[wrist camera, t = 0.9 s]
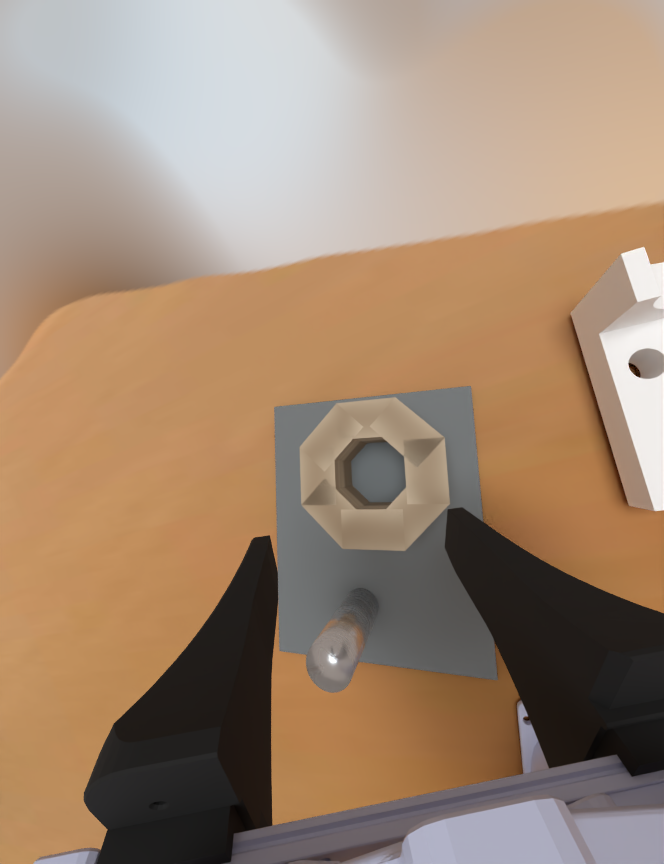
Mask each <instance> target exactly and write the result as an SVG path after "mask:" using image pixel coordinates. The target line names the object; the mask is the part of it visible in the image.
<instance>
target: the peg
mask: <svg viewBox="0 0 664 864" xmlns="http://www.w3.org/2000/svg"><path fill="white" fill-rule="evenodd" d="M378 612H379V604H378V601H377V599H376V597H375V595H374V594H373V593H372V592H370V591H369V590H367V589H364V588H356V589H353V590H352V591H350V592H349V594H348V595H347V596H346V598H345V599H344V601H343V602H342V603H341V605H340V606H339V608H338V609H337V611H336V612H335V613H334V615H333V616H332V618H331V619H330V620H329V622H328V623H327V625H326V626H325V627H324V629H323V630H322V632H321V633H320V634H319V636H318V637H317V639H316V640H315V641H314V643H313V644H312V646H311V647H310V649H309V650H308V653H307V657H306V666H307V671H308V674H309V676H310V678H311V679H312V681H313V682H314V683H315V684H316V685H317V686H318V687H319V688H321V689H322V690H324V691H327V692H339V691H342V690H343V689H345V688H346V687H347V686H348V684H349V683H350V681H351V678H352V676H353V674H354V671H355V669H356V666H357V664H358V662H359V659H360V657H361V654H362V652H363V649H364V647H365V645H366V642H367V640H368V637H369V635H370V632H371V630H372V628H373V625H374V623H375V620H376V618H377V615H378Z"/></svg>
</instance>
